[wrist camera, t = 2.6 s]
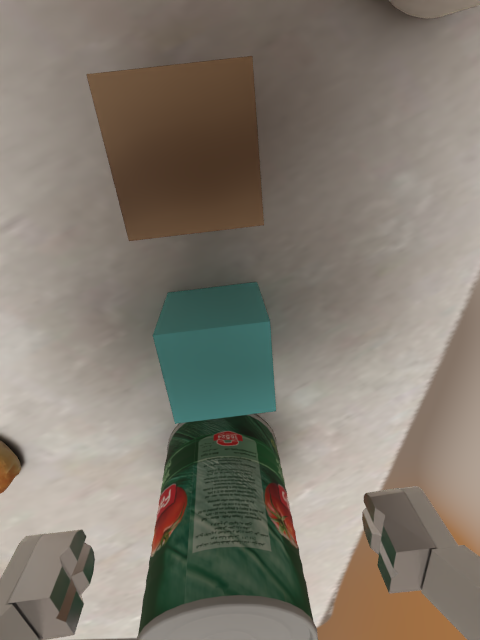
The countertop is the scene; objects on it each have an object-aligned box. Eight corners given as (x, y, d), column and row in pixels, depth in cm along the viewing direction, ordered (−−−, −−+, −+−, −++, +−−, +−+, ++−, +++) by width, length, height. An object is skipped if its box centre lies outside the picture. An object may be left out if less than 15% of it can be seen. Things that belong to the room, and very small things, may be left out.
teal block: (168, 292, 18) (152, 335, 14) (256, 281, 18) (270, 321, 14) (184, 365, 21) (175, 423, 16) (263, 356, 21) (276, 411, 16)
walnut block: (126, 100, 14) (86, 74, 10) (240, 88, 14) (252, 55, 10) (152, 218, 16) (129, 241, 12) (250, 207, 17) (264, 224, 12)
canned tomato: (146, 430, 23) (94, 641, 13) (252, 390, 22) (282, 584, 12) (198, 497, 26) (187, 703, 16) (290, 465, 25) (339, 663, 15)
